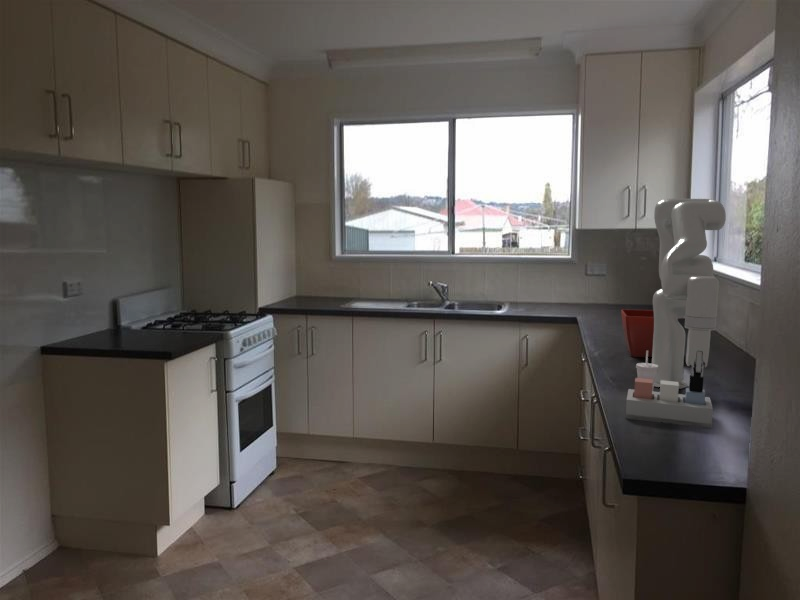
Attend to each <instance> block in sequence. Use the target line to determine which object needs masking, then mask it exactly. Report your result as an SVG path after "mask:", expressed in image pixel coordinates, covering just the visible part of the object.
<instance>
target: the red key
mask: <svg viewBox="0 0 800 600" xmlns="http://www.w3.org/2000/svg"><path fill="white" fill-rule="evenodd" d="M652 385H653V379H643V378H638V377H635V379H634V398H643V399H652Z"/></svg>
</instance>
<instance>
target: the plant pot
mask: <svg viewBox="0 0 800 600" xmlns="http://www.w3.org/2000/svg"><path fill="white" fill-rule="evenodd" d="M620 312H621V321H622V328H623V332H624V333H623V334H624V337H625V343H626V346H627V349H628V353H629V354H630V356H631V357H634V358H646V351H648V357H652V352H653V335H654V312H653V309H625V308H624V309H621V311H620ZM677 320H678V321H679V319H677Z"/></svg>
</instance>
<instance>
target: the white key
mask: <svg viewBox="0 0 800 600" xmlns="http://www.w3.org/2000/svg"><path fill="white" fill-rule="evenodd" d="M679 391H680V390H679V383H678V382H674V381H664V380H661V381H660V388H659V392H660V400H662V401H671V402H678V394H679Z"/></svg>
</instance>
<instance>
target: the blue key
mask: <svg viewBox="0 0 800 600" xmlns="http://www.w3.org/2000/svg"><path fill="white" fill-rule="evenodd" d="M684 395H685V403H690V404H699V405H705V397H706V392H705V389H703V391H702V392H693V391H690V390H689V387H686V388H685V394H684Z"/></svg>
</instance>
